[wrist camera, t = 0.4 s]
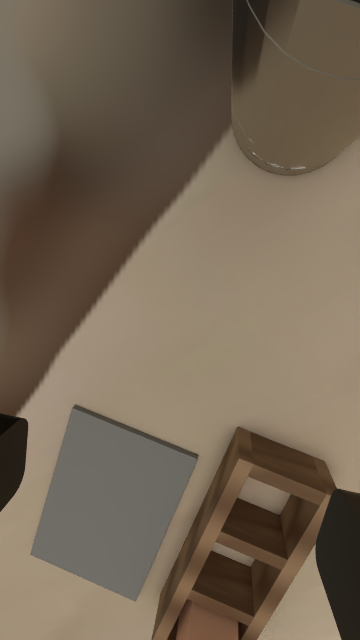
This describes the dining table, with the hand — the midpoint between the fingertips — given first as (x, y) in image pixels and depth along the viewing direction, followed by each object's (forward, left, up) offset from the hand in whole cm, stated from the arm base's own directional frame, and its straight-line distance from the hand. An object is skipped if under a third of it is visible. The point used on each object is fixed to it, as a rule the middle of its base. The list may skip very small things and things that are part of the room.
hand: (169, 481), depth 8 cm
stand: (+20, +10, -20) cm, 30 cm away
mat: (+23, -3, -20) cm, 31 cm away
